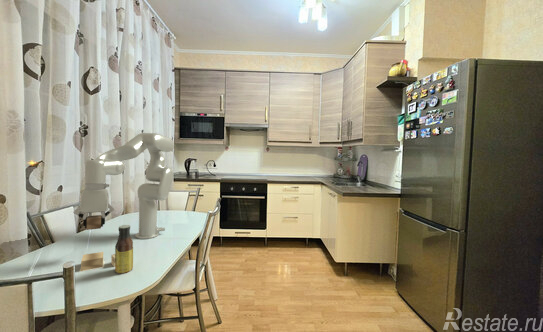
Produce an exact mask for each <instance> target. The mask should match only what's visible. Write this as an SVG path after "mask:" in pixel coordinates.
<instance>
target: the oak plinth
mask: <svg viewBox="0 0 543 332" xmlns="http://www.w3.org/2000/svg"><path fill="white" fill-rule="evenodd" d="M103 260H104V251H97V252H93V253H86V254H82V258H81V262H80V265H81V266H80V268H81V271H82V272H85V271H84V270H87V271H90V270H89V269H93V270H96V269H95V268H98V269H101V268H100V267H103ZM103 268H104V267H103Z"/></svg>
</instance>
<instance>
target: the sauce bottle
mask: <svg viewBox="0 0 543 332" xmlns="http://www.w3.org/2000/svg"><path fill="white" fill-rule="evenodd" d="M130 231H131V225H130V224H122V225H119V226H118V238H117V241H116V243H115V246H114V247H115V248H114V250H115V251H114V254H115V267H114V272H115V274H118V275H122V274H123V275H125V274H127V273H130V272H131V271H133V268H134V242H133V239H132V237H131V233H130Z"/></svg>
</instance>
